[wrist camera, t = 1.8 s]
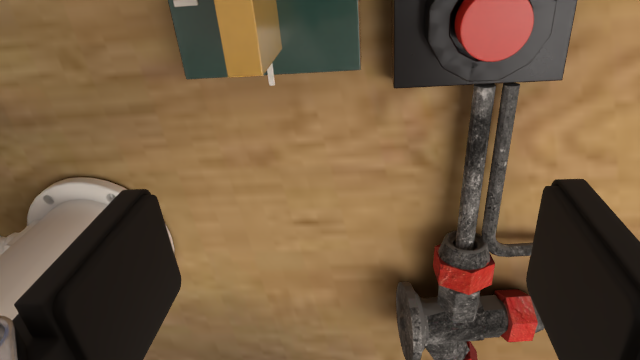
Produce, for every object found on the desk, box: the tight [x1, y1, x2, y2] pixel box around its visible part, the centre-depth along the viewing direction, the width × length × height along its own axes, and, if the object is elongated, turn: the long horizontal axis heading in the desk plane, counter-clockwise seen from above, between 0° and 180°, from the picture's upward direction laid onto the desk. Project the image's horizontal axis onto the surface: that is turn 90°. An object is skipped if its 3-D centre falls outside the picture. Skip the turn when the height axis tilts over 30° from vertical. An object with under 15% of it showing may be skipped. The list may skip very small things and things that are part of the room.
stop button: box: [455, 0, 534, 62], centre depth 23 cm, size 4×4×2 cm
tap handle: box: [214, 0, 282, 78], centre depth 22 cm, size 6×2×6 cm, turn 5°
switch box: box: [392, 0, 577, 88], centre depth 25 cm, size 10×8×4 cm
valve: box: [396, 83, 544, 360], centre depth 33 cm, size 6×26×15 cm
